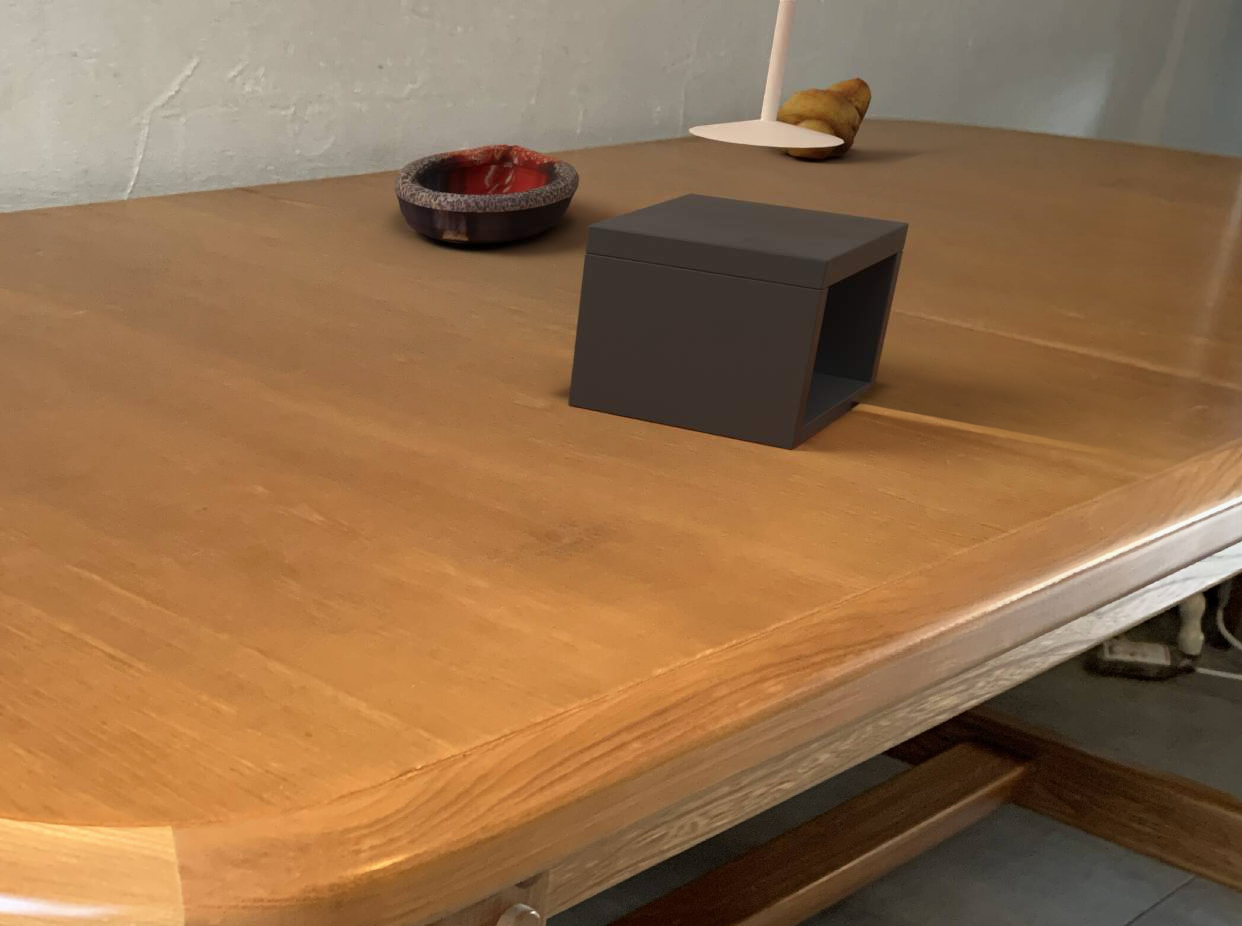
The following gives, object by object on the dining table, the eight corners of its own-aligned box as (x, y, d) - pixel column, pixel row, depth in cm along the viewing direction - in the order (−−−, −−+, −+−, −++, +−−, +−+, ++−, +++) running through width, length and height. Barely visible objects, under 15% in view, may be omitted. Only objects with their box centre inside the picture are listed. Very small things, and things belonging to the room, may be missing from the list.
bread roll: (833, 166, 187) (848, 85, 182) (750, 157, 191) (762, 77, 186) (865, 154, 196) (880, 77, 192) (784, 145, 200) (797, 69, 196)
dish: (355, 245, 138) (357, 179, 136) (441, 189, 163) (444, 132, 160) (539, 263, 135) (546, 196, 132) (599, 204, 160) (605, 146, 157)
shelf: (873, 395, 105) (909, 223, 100) (791, 450, 94) (827, 260, 89) (666, 357, 111) (689, 193, 106) (567, 405, 100) (587, 224, 95)
